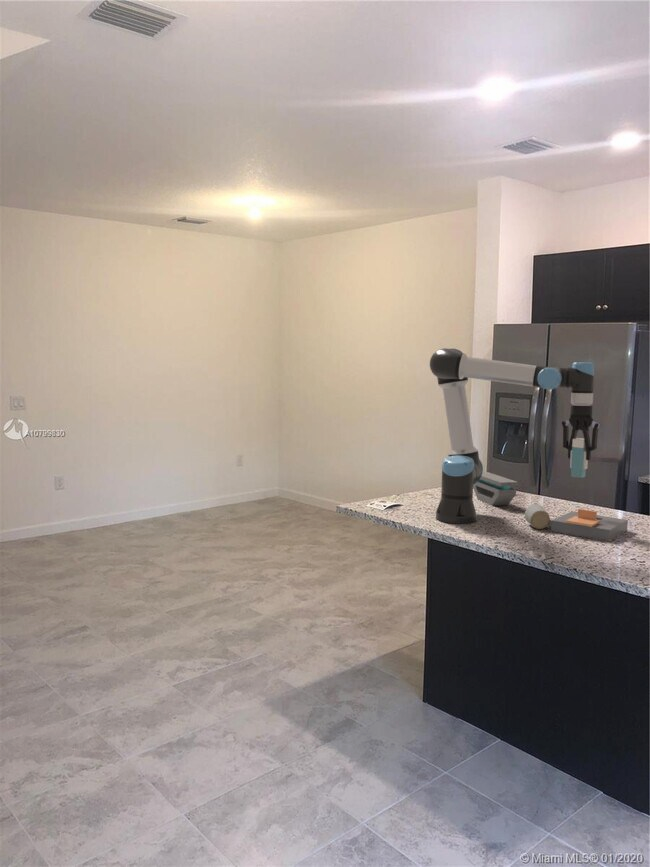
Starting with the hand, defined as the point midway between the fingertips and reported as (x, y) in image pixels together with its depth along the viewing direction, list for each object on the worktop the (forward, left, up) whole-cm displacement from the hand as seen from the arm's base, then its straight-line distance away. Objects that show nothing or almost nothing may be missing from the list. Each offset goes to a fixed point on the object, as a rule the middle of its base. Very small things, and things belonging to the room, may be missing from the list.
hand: (578, 468), depth 256 cm
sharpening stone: (+15, +40, -21) cm, 48 cm away
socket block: (-7, -8, -21) cm, 23 cm away
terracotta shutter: (-14, -8, -17) cm, 23 cm away
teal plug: (0, 0, -3) cm, 3 cm away
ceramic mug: (-14, +8, -21) cm, 26 cm away
